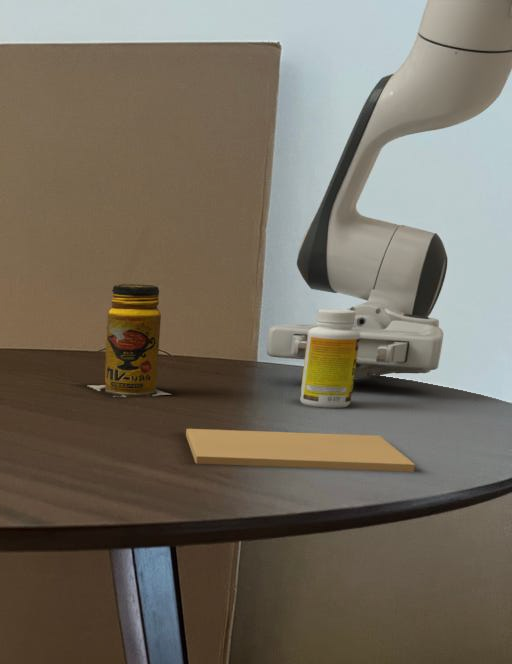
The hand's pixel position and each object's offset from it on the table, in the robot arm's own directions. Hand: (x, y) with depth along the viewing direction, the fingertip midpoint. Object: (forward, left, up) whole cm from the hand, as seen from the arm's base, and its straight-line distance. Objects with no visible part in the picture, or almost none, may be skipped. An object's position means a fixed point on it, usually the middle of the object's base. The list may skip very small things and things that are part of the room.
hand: (341, 351), depth 118 cm
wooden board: (+10, +31, -5) cm, 34 cm away
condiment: (+24, -1, -6) cm, 25 cm away
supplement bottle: (+2, +4, -6) cm, 7 cm away
